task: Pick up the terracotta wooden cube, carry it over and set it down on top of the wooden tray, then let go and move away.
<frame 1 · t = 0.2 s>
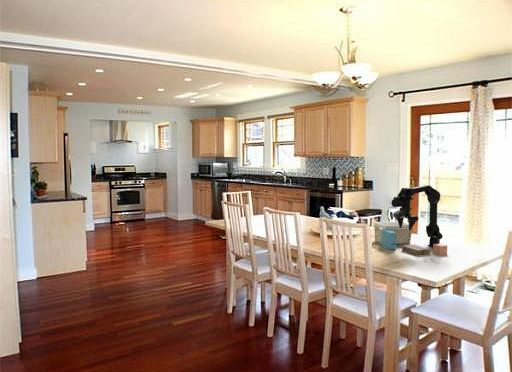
hand: (405, 229, 273), 14 cm above the table, tool pointing down, fingers open, 9 cm apart
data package: (388, 248, 280), on the table
storage basket: (392, 242, 298), on the table
terracotta cube: (439, 253, 265), on the table
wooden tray: (415, 253, 267), on the table
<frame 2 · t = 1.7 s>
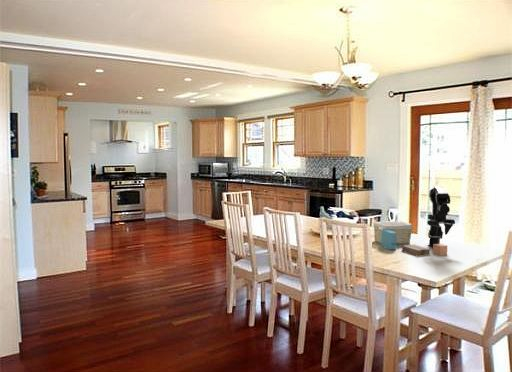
hand: (440, 235, 264), 12 cm above the table, tool pointing down, fingers open, 9 cm apart
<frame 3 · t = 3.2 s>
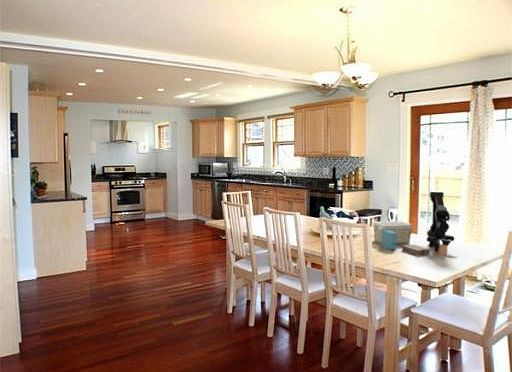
hand: (440, 251, 264), 1 cm above the table, tool pointing down, fingers closed on terracotta cube, 6 cm apart
terracotta cube: (439, 253, 265), on the table, touching gripper
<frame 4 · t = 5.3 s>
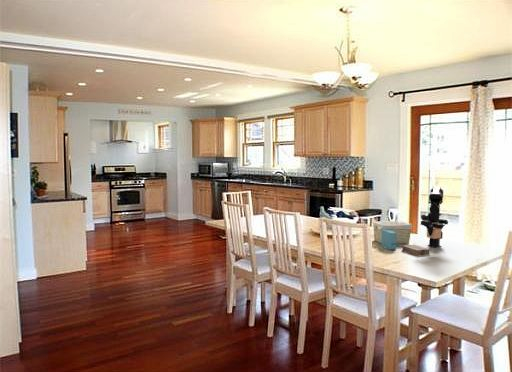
hand: (433, 235, 264), 12 cm above the table, tool pointing down, fingers closed on terracotta cube, 6 cm apart
terracotta cube: (433, 237, 264), point 11 cm above the table, touching gripper
when the fingers open (7 cm above the table, at t = 7.3 s): terracotta cube drops 2 cm, resting on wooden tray.
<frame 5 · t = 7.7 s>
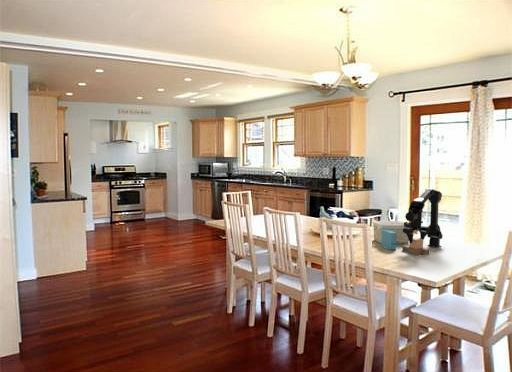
hand: (416, 242, 266), 7 cm above the table, tool pointing down, fingers open, 9 cm apart
terracotta cube: (416, 247, 267), point 3 cm above the table, touching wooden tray
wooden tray: (415, 253, 267), on the table, touching terracotta cube
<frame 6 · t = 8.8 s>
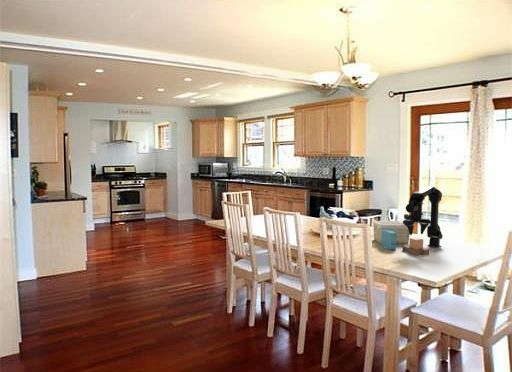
hand: (416, 234, 266), 12 cm above the table, tool pointing down, fingers open, 9 cm apart
terracotta cube: (416, 247, 266), point 3 cm above the table
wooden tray: (415, 253, 267), on the table
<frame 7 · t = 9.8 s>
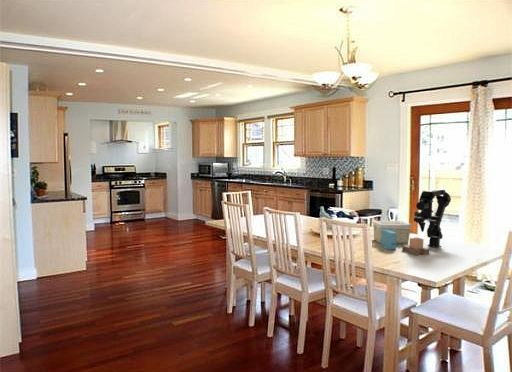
hand: (426, 231, 276), 12 cm above the table, tool pointing down, fingers open, 7 cm apart
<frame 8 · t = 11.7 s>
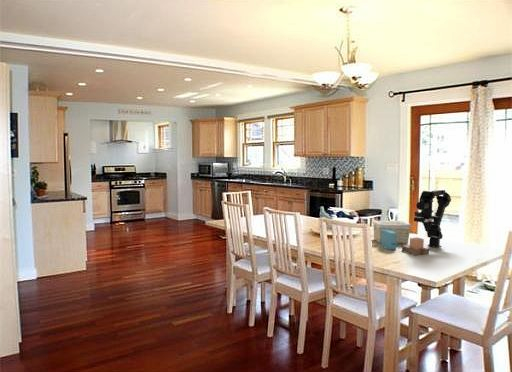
hand: (426, 231, 276), 13 cm above the table, tool pointing down, fingers closed
terracotta cube: (416, 247, 267), point 4 cm above the table, touching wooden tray
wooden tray: (415, 253, 267), on the table, touching terracotta cube
at the end: terracotta cube inside the target area on the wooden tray (0.7 cm from its centre), point 4.0 cm above the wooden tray's base; terracotta cube tilted 0°; the gripper is holding nothing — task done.
